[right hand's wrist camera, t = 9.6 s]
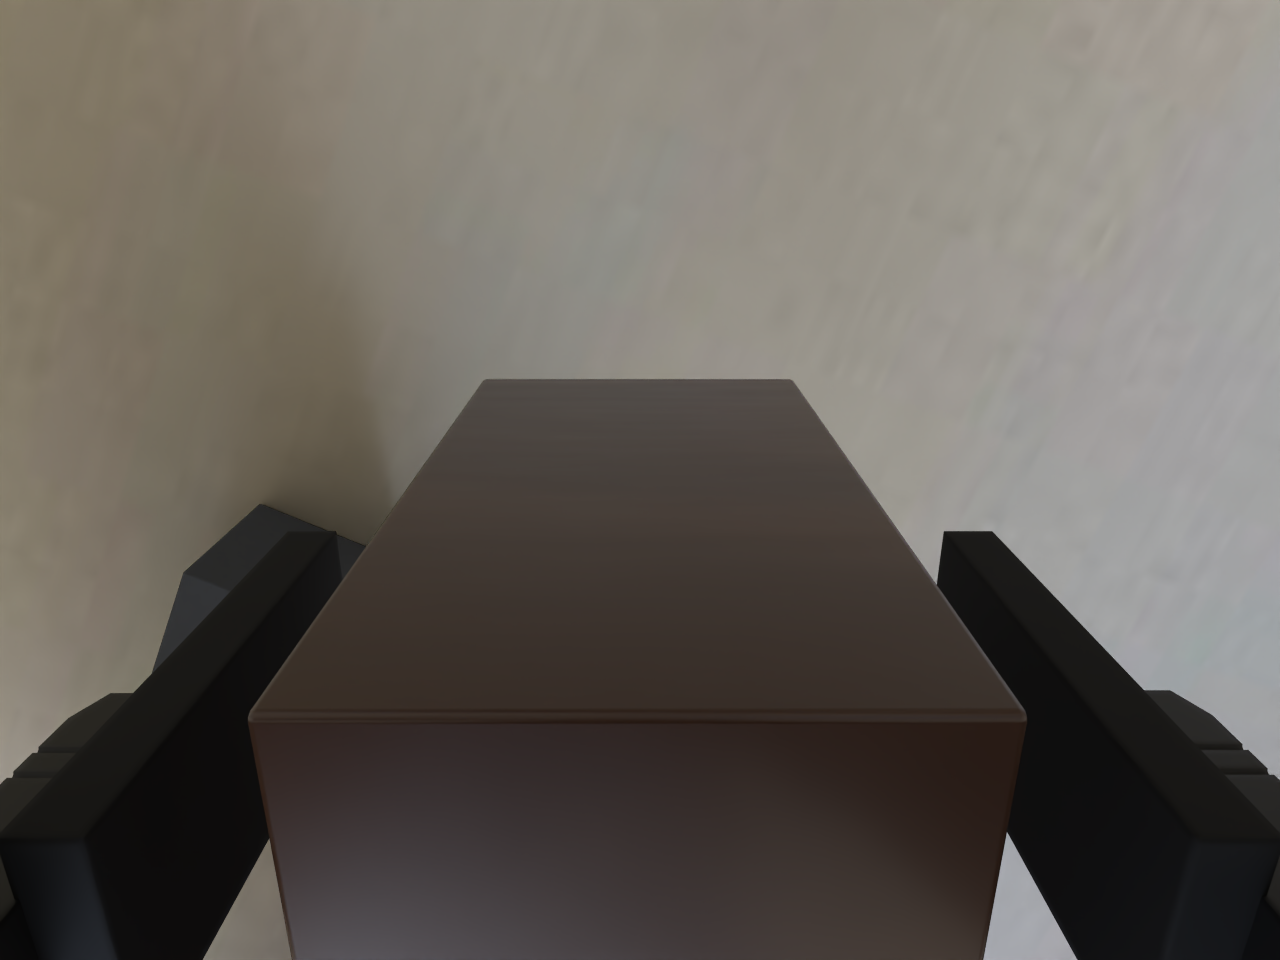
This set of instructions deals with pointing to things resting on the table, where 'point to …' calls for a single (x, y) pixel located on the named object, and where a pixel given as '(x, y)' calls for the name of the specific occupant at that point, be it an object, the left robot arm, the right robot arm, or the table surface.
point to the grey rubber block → (234, 570)
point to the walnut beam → (637, 702)
